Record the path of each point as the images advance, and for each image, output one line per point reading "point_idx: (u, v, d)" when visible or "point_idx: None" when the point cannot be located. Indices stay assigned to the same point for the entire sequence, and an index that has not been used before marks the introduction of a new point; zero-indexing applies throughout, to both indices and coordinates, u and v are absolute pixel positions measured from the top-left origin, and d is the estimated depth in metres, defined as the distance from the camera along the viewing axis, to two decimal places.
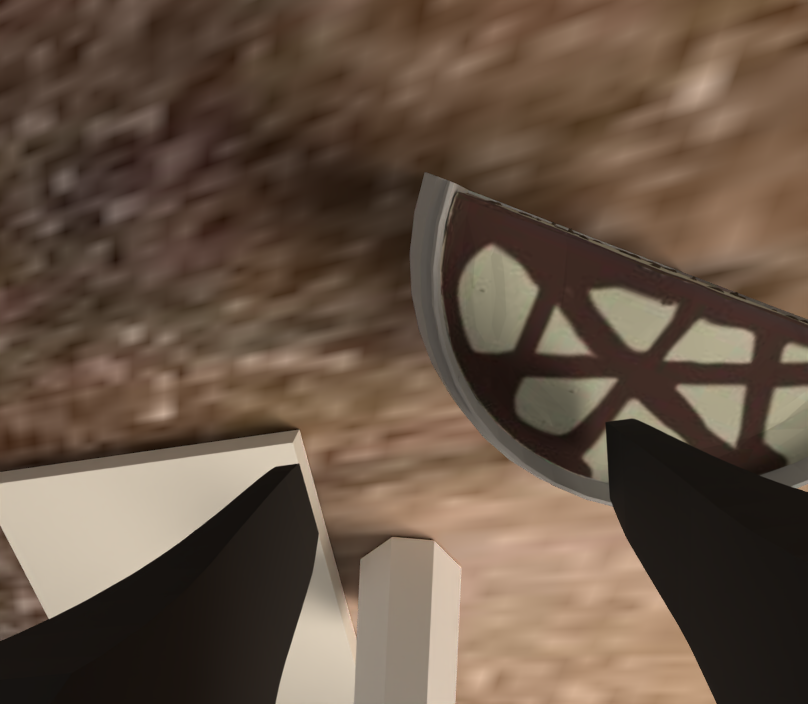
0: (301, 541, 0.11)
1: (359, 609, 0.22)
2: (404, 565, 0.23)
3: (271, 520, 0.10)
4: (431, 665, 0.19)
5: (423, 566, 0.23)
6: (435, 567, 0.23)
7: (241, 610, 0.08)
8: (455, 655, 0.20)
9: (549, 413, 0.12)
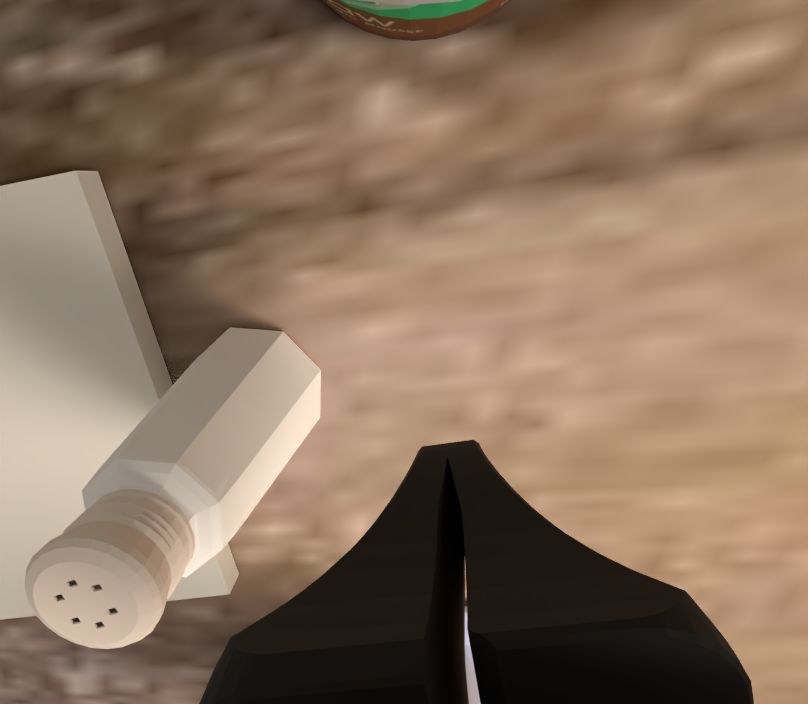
0: (458, 522, 0.11)
1: (166, 392, 0.17)
2: (232, 345, 0.18)
3: (447, 498, 0.10)
4: (219, 417, 0.14)
5: (257, 347, 0.18)
6: (274, 350, 0.18)
7: (448, 588, 0.08)
8: (271, 428, 0.15)
9: None
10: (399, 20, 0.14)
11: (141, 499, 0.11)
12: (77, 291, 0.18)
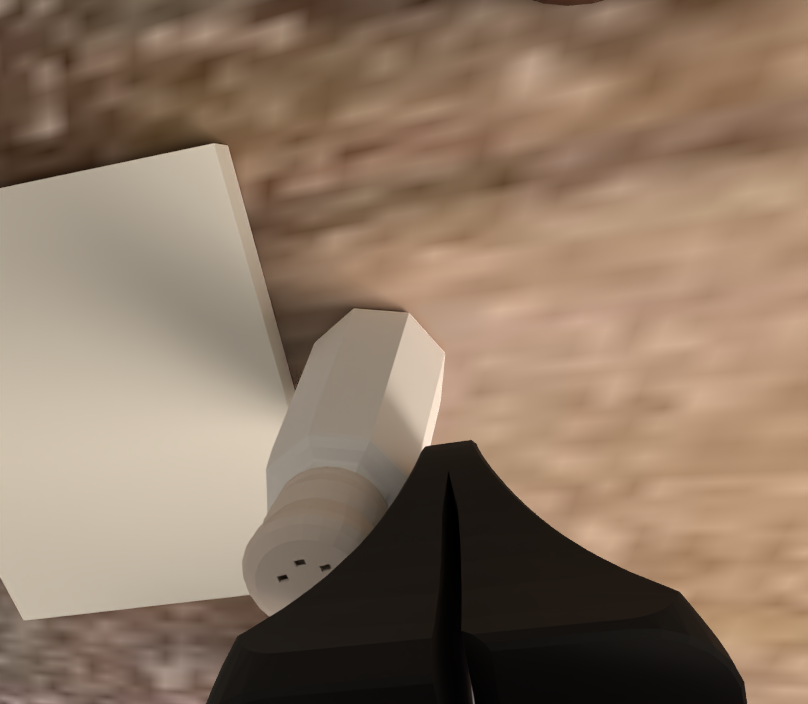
0: None
1: (303, 373, 0.17)
2: (366, 326, 0.17)
3: (451, 498, 0.10)
4: (388, 395, 0.13)
5: (391, 327, 0.17)
6: (407, 331, 0.18)
7: (453, 587, 0.08)
8: (427, 409, 0.15)
9: None
10: None
11: (344, 477, 0.11)
12: (205, 269, 0.18)
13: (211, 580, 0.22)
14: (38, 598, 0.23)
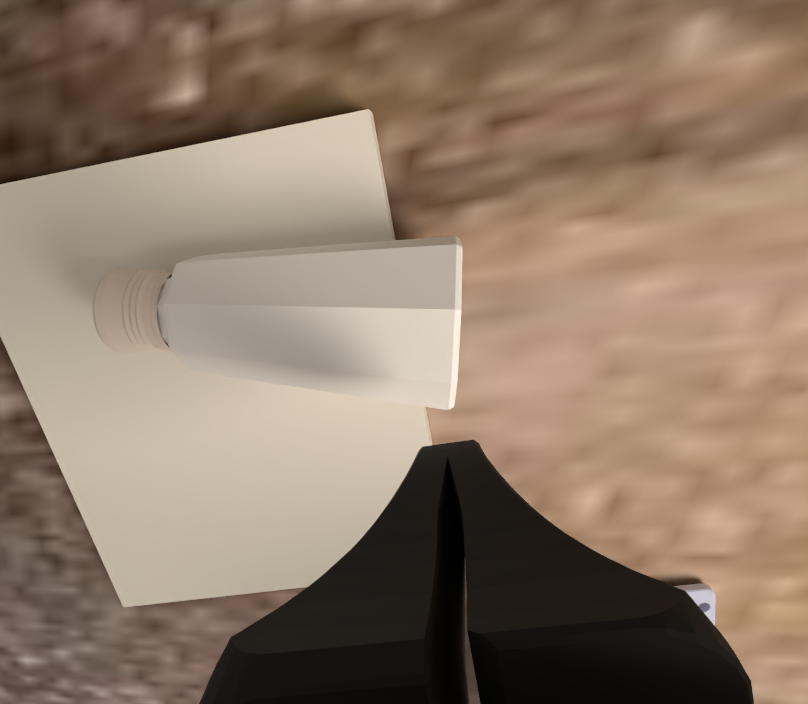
0: (458, 522, 0.11)
1: None
2: None
3: (447, 498, 0.10)
4: (262, 250, 0.16)
5: None
6: (408, 240, 0.16)
7: (448, 588, 0.08)
8: (288, 254, 0.15)
9: None
10: None
11: None
12: (347, 242, 0.17)
13: (322, 566, 0.22)
14: (140, 584, 0.22)
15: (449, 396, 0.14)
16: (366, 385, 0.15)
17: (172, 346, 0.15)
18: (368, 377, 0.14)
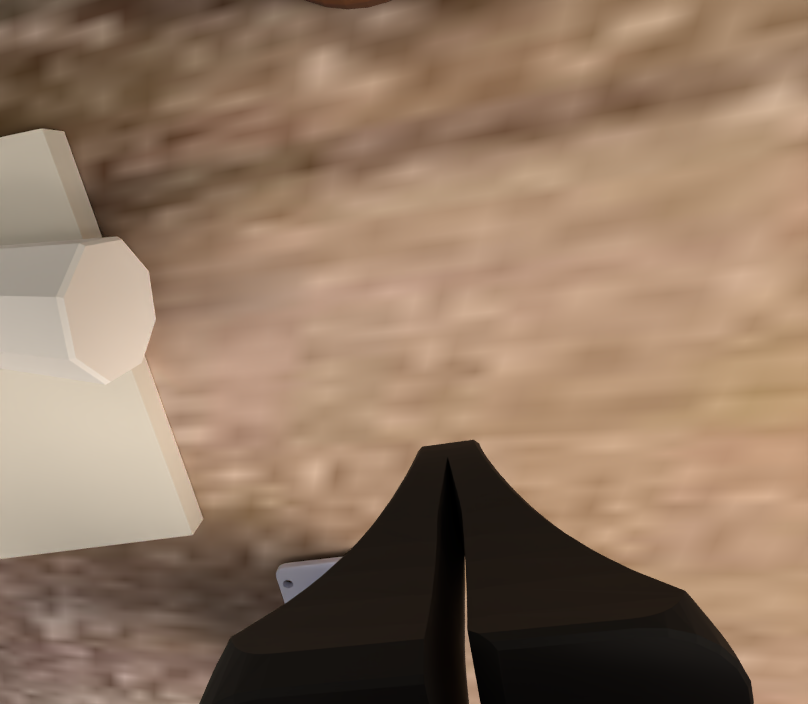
0: (458, 522, 0.11)
1: None
2: None
3: (447, 498, 0.10)
4: None
5: None
6: (76, 240, 0.18)
7: (448, 588, 0.08)
8: None
9: None
10: None
11: None
12: None
13: (78, 531, 0.24)
14: None
15: (86, 371, 0.17)
16: (22, 363, 0.17)
17: None
18: (11, 355, 0.17)
